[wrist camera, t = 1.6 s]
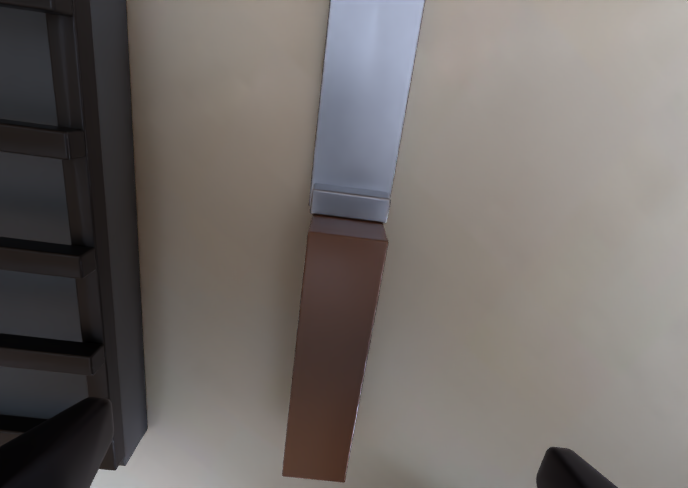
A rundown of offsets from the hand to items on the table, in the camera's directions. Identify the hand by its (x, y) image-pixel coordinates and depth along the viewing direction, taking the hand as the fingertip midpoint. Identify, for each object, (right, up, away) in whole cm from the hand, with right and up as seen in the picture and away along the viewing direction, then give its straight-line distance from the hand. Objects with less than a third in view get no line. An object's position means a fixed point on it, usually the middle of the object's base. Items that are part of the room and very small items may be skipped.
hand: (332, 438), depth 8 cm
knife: (+1, +7, +5) cm, 8 cm away
